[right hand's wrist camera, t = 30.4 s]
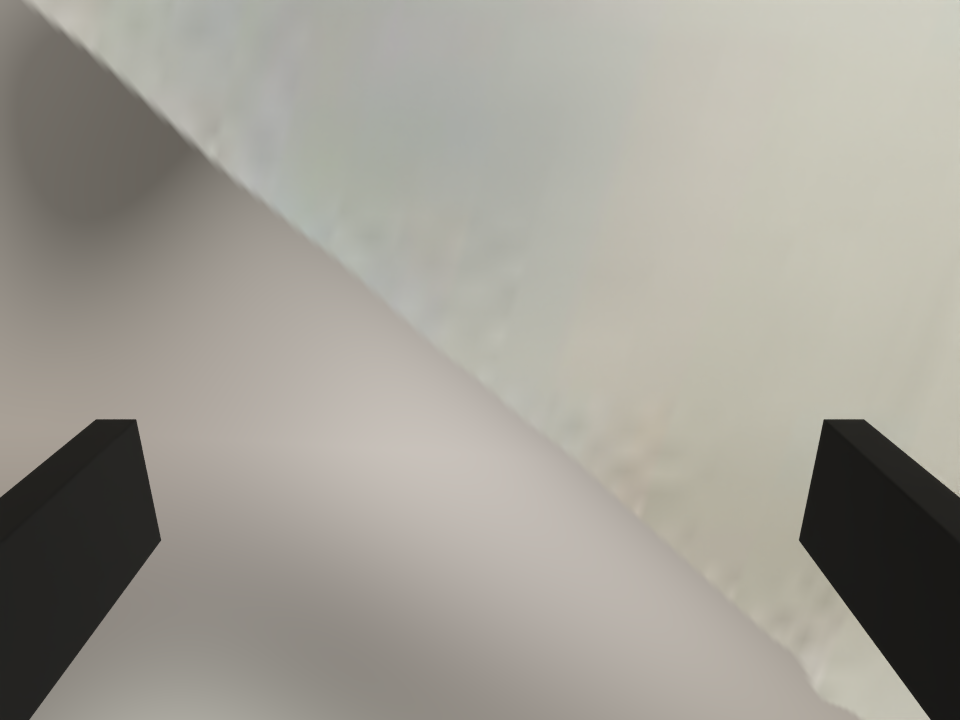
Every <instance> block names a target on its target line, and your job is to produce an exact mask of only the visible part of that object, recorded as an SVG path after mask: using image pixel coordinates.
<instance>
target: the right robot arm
mask: <svg viewBox="0 0 960 720" xmlns="http://www.w3.org/2000/svg"><path fill="white" fill-rule="evenodd" d="M160 541H161V538H160V533H159V528H158V523H157V518H156V513H155V508H154V504H153V499H152V494H151V489H150V485H149V479H148V475H147V470H146V465H145V460H144V455H143V450H142V445H141V441H140V436H139V431H138V426H137V421H136V419H132V420H131V419H120V420H119V419H118V420H117V419H113V420H110V419H103V420H102V419H97V420H95V421H94V422H92V423H91V424H90V425H89V426H88V427H86V428H85V429H84V430H83V431H81V432H80V433H79V434H78V435H76V436H75V437H74V438H73V439H71V440H70V441H69V442H68V443H67V444H65V445H64V446H63V447H62V448H61V449H59V450H58V451H57V452H56V453H54V454H53V455H52V456H51V457H49V458H48V459H47V460H46V461H45V462H43V463H42V464H41V465H40V466H38V467H37V468H36V469H35V470H34V471H32V472H31V473H30V474H29V475H27V476H26V477H25V478H24V479H23V480H21V481H20V482H19V483H18V484H16V485H15V486H14V487H13V488H12V489H10V490H9V491H8V492H7V493H5V494H4V495H3V496H2V497H0V720H29V719H30V718H31V717H32V715H33V714H34V713H35V711H36V710H37V708H38V707H39V706H40V704H41V703H42V702H43V700H44V699H45V698H46V696H47V695H48V694H49V692H50V691H51V689H52V688H53V687H54V685H55V684H56V683H57V681H58V680H59V679H60V677H61V676H62V674H63V673H64V672H65V670H66V669H67V668H68V666H69V665H70V664H71V662H72V661H73V660H74V658H75V657H76V655H77V654H78V653H79V651H80V650H81V649H82V647H83V646H84V644H85V643H86V642H87V640H88V639H89V638H90V636H91V635H92V634H93V632H94V631H95V630H96V628H97V627H98V625H99V624H100V623H101V621H102V620H103V619H104V617H105V616H106V614H107V613H108V612H109V610H110V609H111V608H112V606H113V605H114V604H115V602H116V601H117V599H118V598H119V597H120V595H121V594H122V593H123V591H124V590H125V589H126V587H127V586H128V585H129V583H130V582H131V580H132V579H133V578H134V576H135V575H136V574H137V572H138V571H139V570H140V568H141V567H142V566H143V564H144V563H145V561H146V560H147V559H148V557H149V556H150V555H151V553H152V552H153V551H154V549H155V548H156V546H157V545H158V544H159V542H160ZM799 541H800V542H801V544H802V545H803V546H804V548H805V549H806V551H807V552H808V553H809V555H810V556H811V557H812V559H813V560H814V561H815V563H816V564H817V566H818V567H819V568H820V570H821V571H822V572H823V574H824V575H825V576H826V578H827V579H828V581H829V582H830V583H831V585H832V586H833V587H834V589H835V590H836V591H837V593H838V594H839V596H840V597H841V598H842V600H843V601H844V602H845V604H846V605H847V606H848V608H849V609H850V610H851V612H852V613H853V615H854V616H855V617H856V619H857V620H858V621H859V623H860V624H861V625H862V627H863V628H864V630H865V631H866V632H867V634H868V635H869V636H870V638H871V639H872V640H873V642H874V643H875V645H876V646H877V647H878V649H879V650H880V651H881V653H882V654H883V655H884V657H885V658H886V660H887V661H888V662H889V664H890V665H891V666H892V668H893V669H894V670H895V672H896V673H897V674H898V676H899V677H900V679H901V680H902V681H903V683H904V684H905V685H906V687H907V688H908V689H909V691H910V692H911V694H912V695H913V696H914V698H915V699H916V700H917V702H918V703H919V704H920V706H921V707H922V709H923V710H924V711H925V713H926V714H927V715H928V717H929V718H930V719H931V720H960V497H958V496H957V495H956V494H955V493H953V492H952V491H951V490H950V489H949V488H947V487H946V486H945V485H944V484H942V483H941V482H940V481H939V480H938V479H936V478H935V477H934V476H933V475H931V474H930V473H929V472H928V471H926V470H925V469H924V468H923V467H922V466H920V465H919V464H918V463H917V462H915V461H914V460H913V459H912V458H911V457H909V456H908V455H907V454H906V453H904V452H903V451H902V450H901V449H900V448H898V447H897V446H896V445H895V444H893V443H892V442H891V441H890V440H889V439H887V438H886V437H885V436H884V435H882V434H881V433H880V432H879V431H877V430H876V429H875V428H874V427H873V426H871V425H870V424H869V423H868V422H866V421H865V420H864V419H824V421H823V426H822V431H821V436H820V441H819V445H818V450H817V455H816V460H815V465H814V470H813V475H812V479H811V484H810V489H809V494H808V499H807V504H806V508H805V513H804V518H803V523H802V528H801V533H800V538H799Z"/></svg>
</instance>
